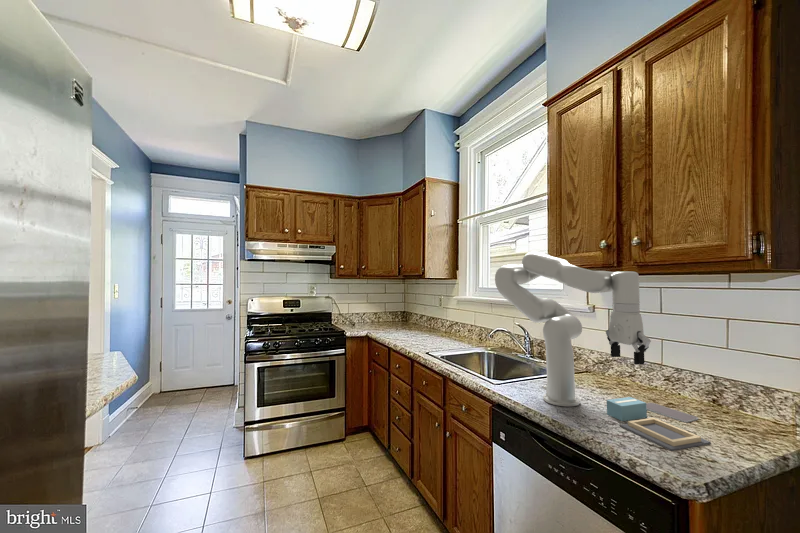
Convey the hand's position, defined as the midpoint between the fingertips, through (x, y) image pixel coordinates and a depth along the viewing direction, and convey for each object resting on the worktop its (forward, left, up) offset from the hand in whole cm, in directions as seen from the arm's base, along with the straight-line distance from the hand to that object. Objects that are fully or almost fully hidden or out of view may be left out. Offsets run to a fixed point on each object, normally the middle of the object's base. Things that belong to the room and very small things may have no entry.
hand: (626, 360), depth 115 cm
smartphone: (0, +16, -20) cm, 25 cm away
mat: (+12, -1, -19) cm, 22 cm away
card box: (-2, +1, -19) cm, 19 cm away
